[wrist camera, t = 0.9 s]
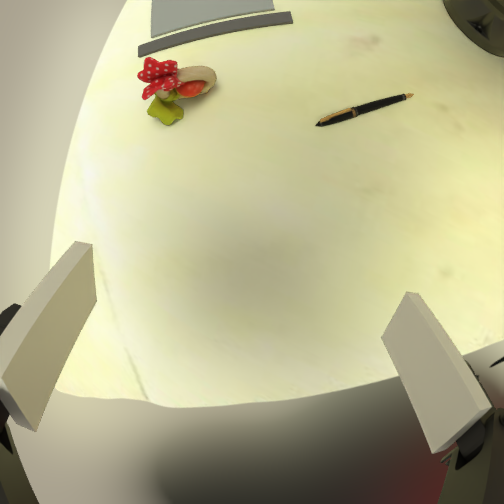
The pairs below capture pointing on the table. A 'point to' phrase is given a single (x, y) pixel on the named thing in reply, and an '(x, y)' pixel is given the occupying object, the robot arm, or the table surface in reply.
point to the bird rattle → (173, 86)
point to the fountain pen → (361, 109)
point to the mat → (205, 20)
